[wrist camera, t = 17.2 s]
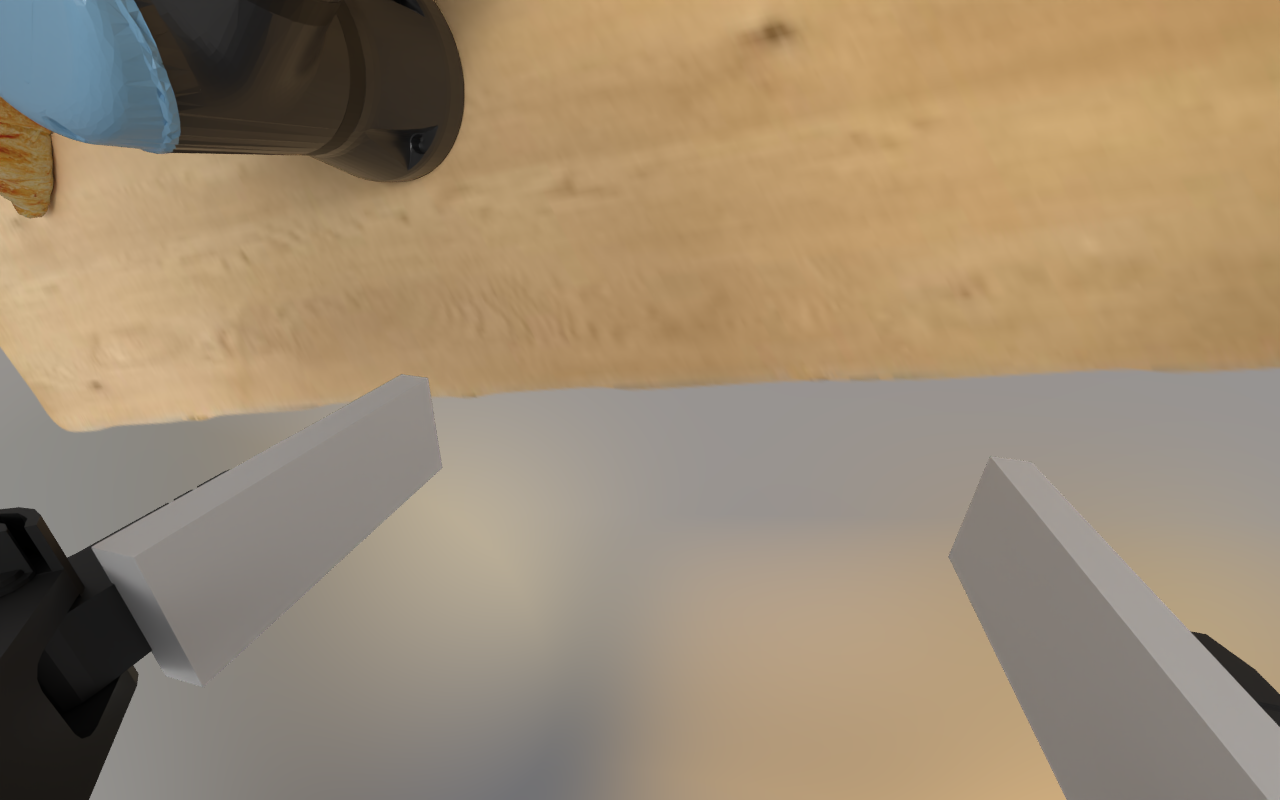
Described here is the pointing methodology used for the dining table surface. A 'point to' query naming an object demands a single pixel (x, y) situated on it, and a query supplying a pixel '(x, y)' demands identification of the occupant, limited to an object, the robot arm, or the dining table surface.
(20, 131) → the croissant
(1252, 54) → the dining table surface
